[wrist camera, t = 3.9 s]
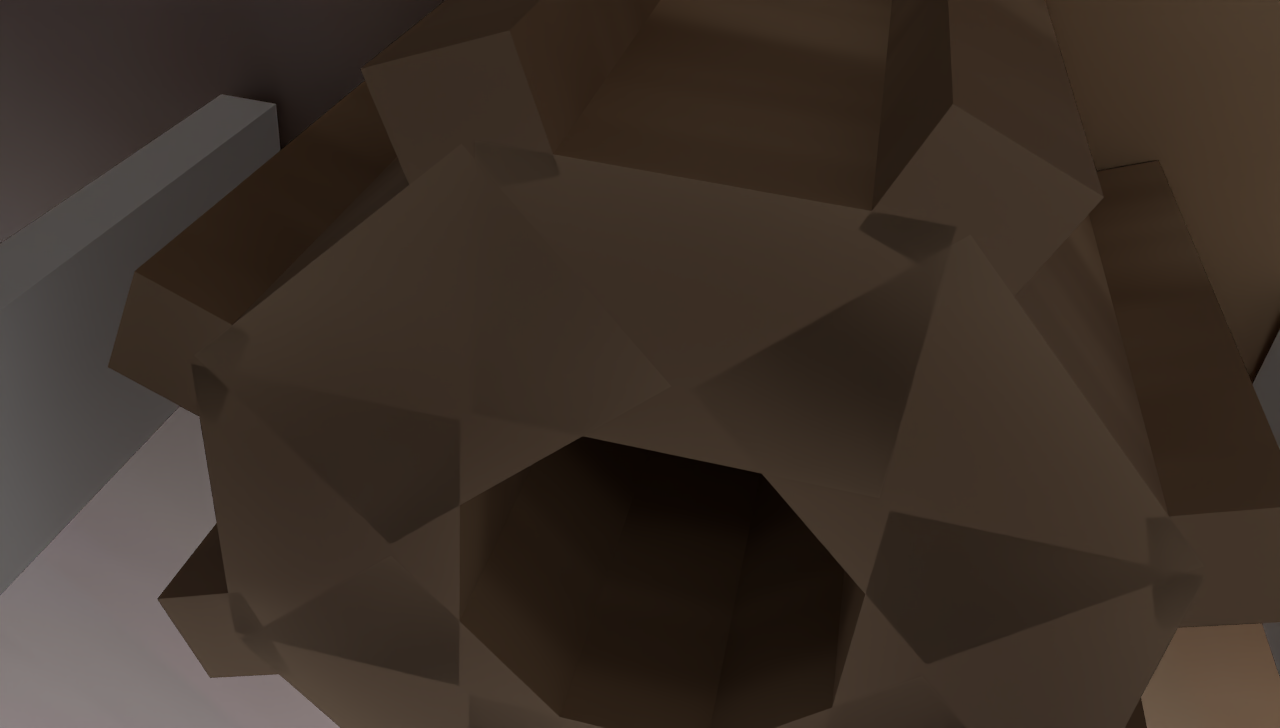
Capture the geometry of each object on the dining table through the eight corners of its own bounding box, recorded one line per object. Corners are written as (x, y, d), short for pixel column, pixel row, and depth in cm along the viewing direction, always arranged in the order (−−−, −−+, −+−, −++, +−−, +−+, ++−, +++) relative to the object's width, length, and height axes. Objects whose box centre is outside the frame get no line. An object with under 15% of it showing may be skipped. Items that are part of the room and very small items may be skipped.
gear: (400, 479, 18) (201, 807, 13) (378, -184, 12) (18, -52, 8) (1015, 613, 17) (1052, 1027, 12) (1286, -52, 11) (1561, 203, 6)
